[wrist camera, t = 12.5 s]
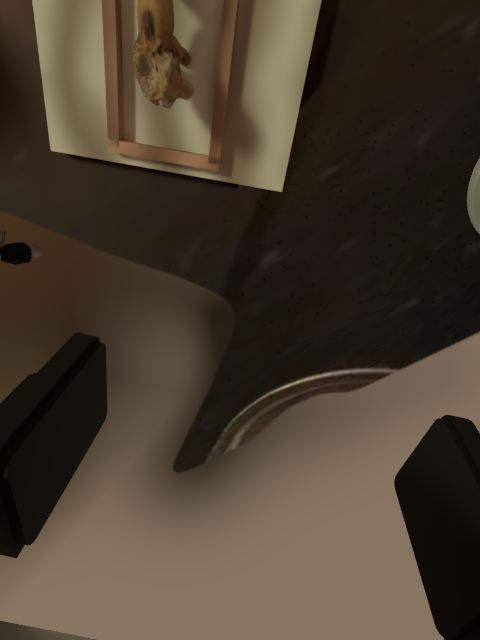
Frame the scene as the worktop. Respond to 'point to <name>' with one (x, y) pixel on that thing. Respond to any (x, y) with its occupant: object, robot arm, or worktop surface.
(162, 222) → the worktop surface
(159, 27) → the lion figurine
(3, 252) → the robot toy
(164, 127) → the base plate
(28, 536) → the robot arm
